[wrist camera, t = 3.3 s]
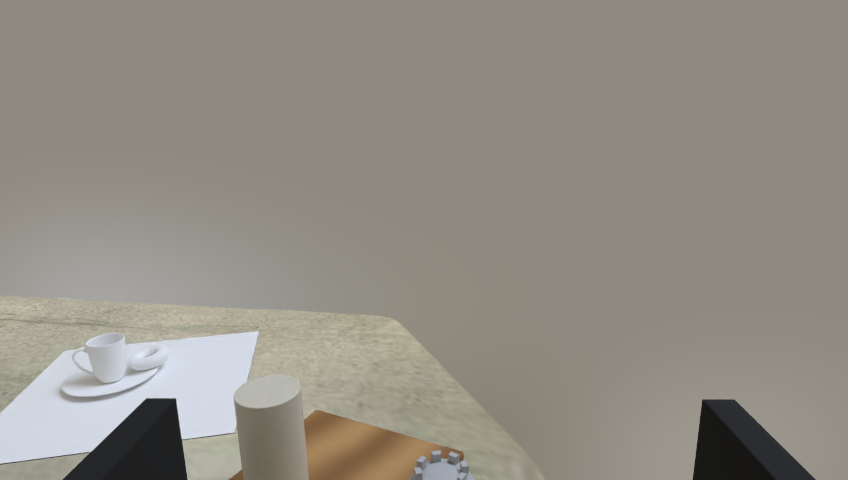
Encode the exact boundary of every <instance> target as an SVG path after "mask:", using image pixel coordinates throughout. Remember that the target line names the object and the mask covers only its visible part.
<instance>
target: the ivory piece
mask: <svg viewBox="0 0 848 480" xmlns="http://www.w3.org/2000/svg"><path fill="white" fill-rule="evenodd" d="M234 406H235V414H236V422H237V430H238V439H239V447H240V455H241V463H242V471H243V480H309V475H308V463H307V452H306V440H305V429H304V417H303V406H302V394H301V385H300V383H299V381H298V380H297V379H295V378H293V377H290V376H286V375H269V376H263V377H259V378H256V379H253V380H250V381H248V382H246V383H244V384H243V385H241V386H240V387H239V388H238V389H237V390H236V392H235V394H234Z"/></svg>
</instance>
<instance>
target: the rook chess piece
mask: <svg viewBox="0 0 848 480" xmlns="http://www.w3.org/2000/svg"><path fill="white" fill-rule="evenodd" d="M409 480H474V477H473V475H472V474H471V473H470V472H469V471H468V464H467V462H466V460H464V461H461V462H460V463H459V454H456V453H454V452H451V451H450V453H449V459H442V458H441V450H438V451H431V460H429V461H427V458H426V457H424V456H423V455H422V456H421V457H420V458H419V459H418V460H417V468H414V473H413V474H412V475H411V476H410V477H409Z"/></svg>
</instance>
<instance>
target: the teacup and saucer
mask: <svg viewBox="0 0 848 480" xmlns="http://www.w3.org/2000/svg"><path fill="white" fill-rule="evenodd" d="M85 345H86V347H84V348H79V349H77V350H75V351H74V352H73V353H72V356H71V359H72V362H73V364H74V365H75V366H76V367H77V368H78V369H77V370H75V371H74V372H72V373H71V374H69V375H68V376H67V377H66V378H65V379H64V380H63V382H62V383H61V391H62V392H63V393H64V394H66V395H68V396H70V397H75V398H95V397H102V396H107V395H112V394H116V393H119V392H122V391H125V390H128V389H131V388H133V387H136V386H138V385H140V384H142V383H143V382H145V381H147V380H148V379H150V378H151V377H152V376H153V375H154V374H155V373H156V372H157V371H158V369H159V367H160V365H162V364H163V363H164V362H166V361H167V360H168V358H169V357H170V353H171V350H170V348H169V347H168V346H167V345H166V344H163V343H155V344H150V345H147V346H144V347H142V348H140V349H138V350H137V351H135V352H134V353H133V354H127V346H126V345H125V337H124V335H123V334H120V333H109V334H104V335H100V336H96V337H94V338H92V339H90V340H88V341H87V342H86V344H85ZM80 352H82V353H85V354H87V357H88V360H89V364H87V365H85V366H81V365H80V364H79V362H78V361H77V359H76V355H77V354H78V353H80Z"/></svg>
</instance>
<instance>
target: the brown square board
mask: <svg viewBox="0 0 848 480" xmlns="http://www.w3.org/2000/svg"><path fill="white" fill-rule="evenodd" d="M304 429H305V440H306V452H307V463H308V475H309V480H409V477H410V476H411V475H412V474H413V473H414V468H417V460H418V459H419V458H420V457H421V456H422V455H423V456H424V457H426V458H427V461H429V460H431V451H438V450H441V458H442V459H449V453H450V451H451V452H454V453H456V454H459V463H460V462H461V461H462V460H463V452H462V451H458V450H455V449H451V448H448V447H444V446H441V445H437V444H434V443H430V442H427V441H423V440H420V439H416V438H413V437H409V436H406V435H402V434H399V433H396V432H392V431H389V430H385V429H382V428H378V427H375V426H371V425H368V424H364V423H361V422H357V421H354V420H350V419H347V418H343V417H340V416H336V415H333V414H329V413H326V412H323V411H319V410H316V411H314V412H313V413H312V414H311V415H309V416H308V417H307V418H306V419H304ZM229 480H243V471H242V470H241V471H239V472H238V473H237V474H236V475H234V476H233V477H232V478H231V479H229Z"/></svg>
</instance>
